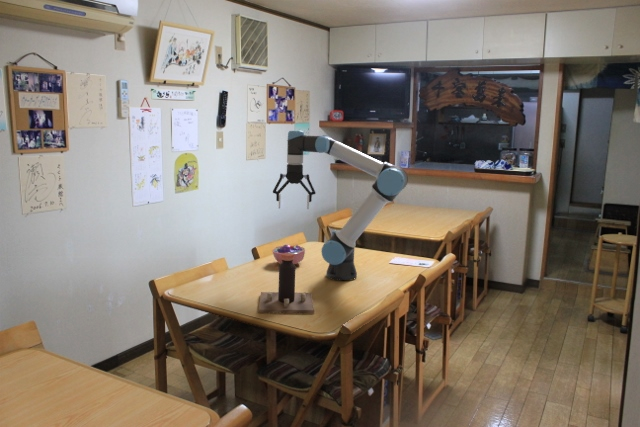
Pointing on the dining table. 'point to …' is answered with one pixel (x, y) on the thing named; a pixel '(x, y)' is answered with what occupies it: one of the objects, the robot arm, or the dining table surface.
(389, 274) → the dining table surface
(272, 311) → the peg stand
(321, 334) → the dining table surface
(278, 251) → the cell model
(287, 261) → the vinegar
